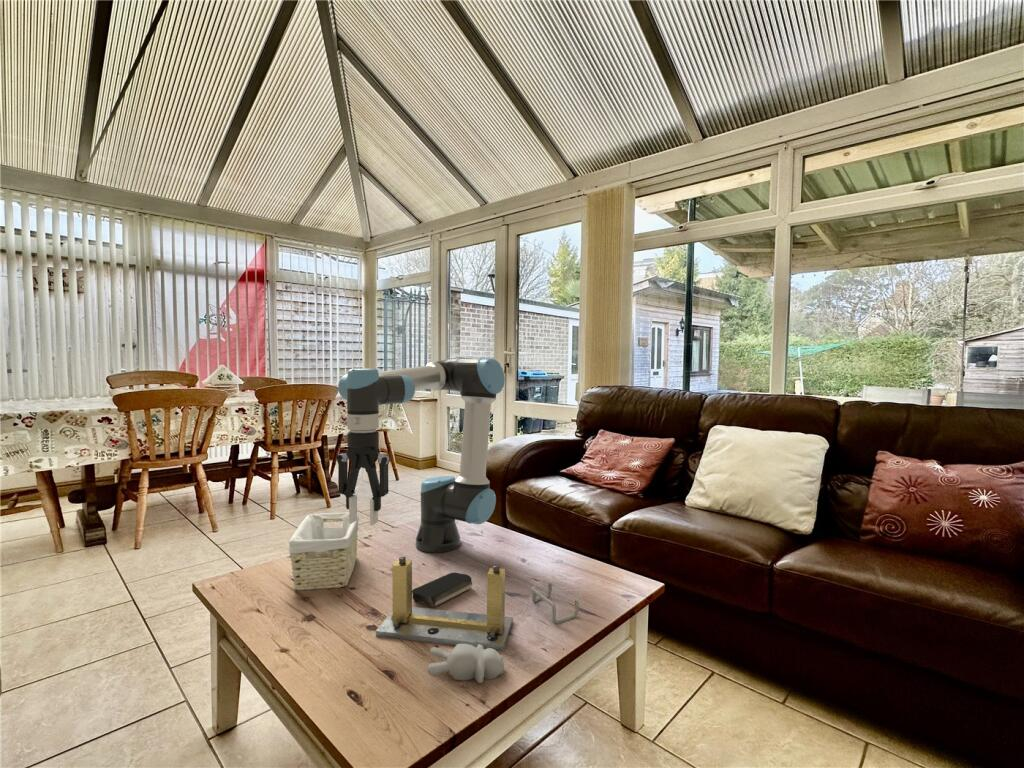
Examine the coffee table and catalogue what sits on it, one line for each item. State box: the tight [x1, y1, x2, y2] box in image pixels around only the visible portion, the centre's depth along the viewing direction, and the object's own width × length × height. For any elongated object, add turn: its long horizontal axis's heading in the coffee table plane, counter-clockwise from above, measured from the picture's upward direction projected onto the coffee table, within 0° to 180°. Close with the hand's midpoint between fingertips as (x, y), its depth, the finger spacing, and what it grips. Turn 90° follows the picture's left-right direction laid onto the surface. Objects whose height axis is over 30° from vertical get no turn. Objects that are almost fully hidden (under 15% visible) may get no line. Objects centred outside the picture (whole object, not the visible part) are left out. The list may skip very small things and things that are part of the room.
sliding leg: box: [392, 556, 413, 627], centre depth 117 cm, size 6×4×15 cm, turn 170°
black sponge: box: [412, 572, 473, 607], centre depth 133 cm, size 16×8×4 cm, turn 141°
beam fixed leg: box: [391, 564, 506, 638], centre depth 115 cm, size 6×27×15 cm, turn 80°
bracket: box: [531, 581, 580, 625], centre depth 126 cm, size 13×8×5 cm, turn 31°
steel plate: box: [375, 606, 514, 652], centre depth 116 cm, size 12×30×1 cm, turn 80°
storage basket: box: [288, 511, 360, 591], centre depth 145 cm, size 24×16×15 cm
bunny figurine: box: [427, 644, 505, 684], centre depth 100 cm, size 10×5×15 cm
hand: (363, 522), depth 123 cm, fingers open, 5 cm apart
